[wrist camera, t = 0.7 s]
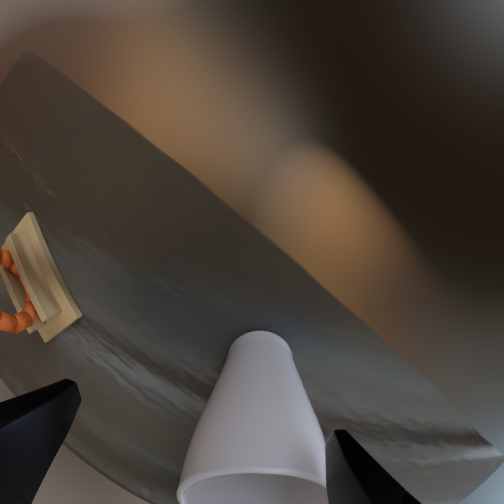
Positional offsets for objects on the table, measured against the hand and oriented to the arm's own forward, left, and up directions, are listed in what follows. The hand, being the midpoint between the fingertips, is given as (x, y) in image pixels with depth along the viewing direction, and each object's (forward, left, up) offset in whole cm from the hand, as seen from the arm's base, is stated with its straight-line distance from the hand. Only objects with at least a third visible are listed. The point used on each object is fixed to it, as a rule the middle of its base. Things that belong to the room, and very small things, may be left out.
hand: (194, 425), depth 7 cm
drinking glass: (-4, -3, -15) cm, 15 cm away
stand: (-4, +21, -14) cm, 25 cm away
